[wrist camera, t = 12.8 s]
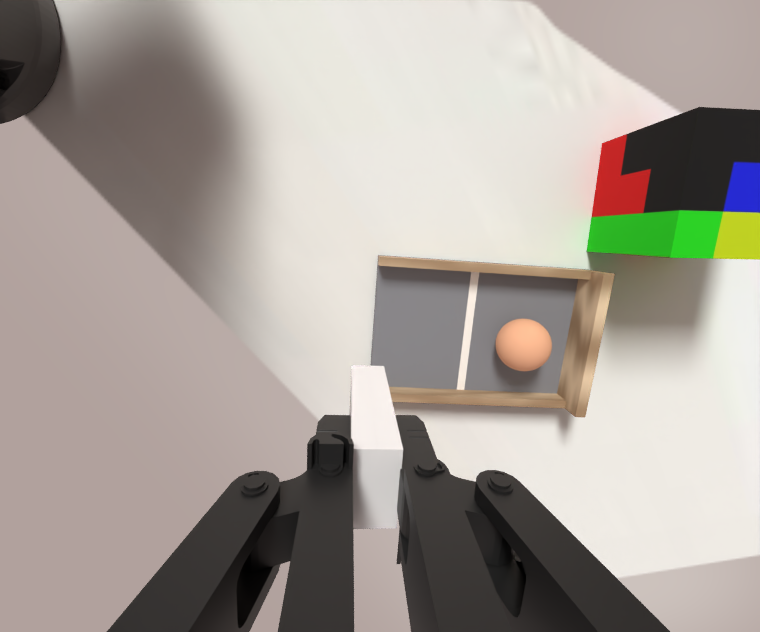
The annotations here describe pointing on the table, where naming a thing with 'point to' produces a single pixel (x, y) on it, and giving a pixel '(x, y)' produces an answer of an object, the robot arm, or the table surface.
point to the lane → (465, 327)
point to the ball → (523, 344)
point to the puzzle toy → (681, 188)
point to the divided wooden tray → (577, 352)
